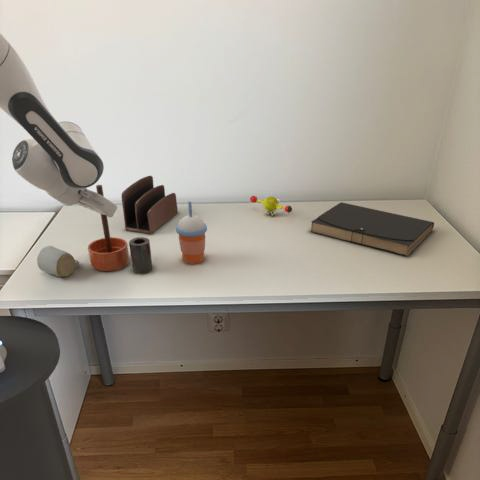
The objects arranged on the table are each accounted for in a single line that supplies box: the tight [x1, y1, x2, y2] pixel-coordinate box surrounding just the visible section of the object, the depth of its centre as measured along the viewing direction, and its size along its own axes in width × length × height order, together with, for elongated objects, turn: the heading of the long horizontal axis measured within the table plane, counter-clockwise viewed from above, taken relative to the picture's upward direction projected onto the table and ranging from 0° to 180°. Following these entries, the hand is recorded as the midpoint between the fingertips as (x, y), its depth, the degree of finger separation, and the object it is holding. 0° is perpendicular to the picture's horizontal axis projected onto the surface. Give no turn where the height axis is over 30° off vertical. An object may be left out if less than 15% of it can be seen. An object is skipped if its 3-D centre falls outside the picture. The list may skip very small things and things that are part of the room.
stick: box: [95, 184, 112, 253], centre depth 146 cm, size 2×2×22 cm
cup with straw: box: [175, 201, 208, 265], centre depth 150 cm, size 9×9×18 cm
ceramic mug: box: [36, 245, 80, 278], centre depth 147 cm, size 11×8×8 cm
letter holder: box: [121, 175, 179, 235], centre depth 176 cm, size 10×20×14 cm, turn 159°
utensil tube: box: [128, 236, 154, 275], centre depth 147 cm, size 6×6×9 cm
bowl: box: [87, 236, 130, 272], centre depth 151 cm, size 11×11×6 cm
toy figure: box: [249, 195, 293, 217], centre depth 181 cm, size 18×6×7 cm, turn 49°
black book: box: [310, 201, 435, 257], centre depth 169 cm, size 33×4×24 cm
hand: (105, 212), depth 145 cm, fingers closed on stick, 1 cm apart
